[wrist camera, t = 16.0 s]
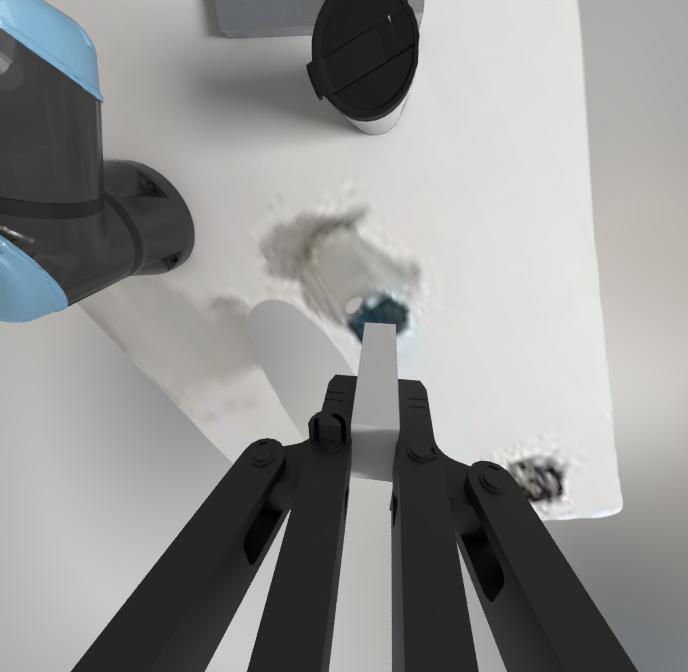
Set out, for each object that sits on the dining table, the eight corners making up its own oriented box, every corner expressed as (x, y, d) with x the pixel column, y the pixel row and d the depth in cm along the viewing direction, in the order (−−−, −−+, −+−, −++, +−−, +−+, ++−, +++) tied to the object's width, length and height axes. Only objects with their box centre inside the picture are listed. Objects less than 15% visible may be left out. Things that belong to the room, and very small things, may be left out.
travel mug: (337, 86, 33) (283, 16, 16) (394, 50, 31) (400, -72, 14) (359, 146, 36) (332, 141, 19) (412, 118, 34) (437, 82, 17)
